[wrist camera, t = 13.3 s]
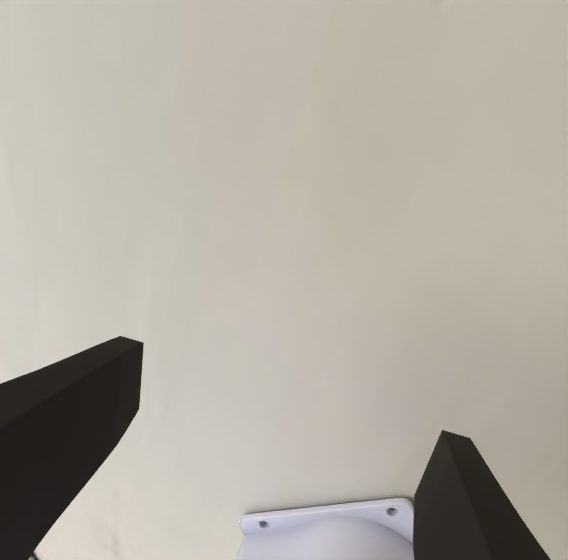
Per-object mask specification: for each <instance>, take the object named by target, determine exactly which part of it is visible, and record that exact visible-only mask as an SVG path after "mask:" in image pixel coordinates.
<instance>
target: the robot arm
mask: <svg viewBox="0 0 568 560" xmlns="http://www.w3.org/2000/svg"><path fill="white" fill-rule="evenodd" d="M143 344H144V343H143V342H139V341H136V340H132V339H129V338H125V337H122V336H119V337H117V338H114V339H111V340H109V341H106V342H104V343H101V344H99V345H96V346H94V347H92V348H89V349H87V350H85V351H82V352H80V353H78V354H75V355H73V356H70V357H68V358H66V359H63V360H61V361H58V362H56V363H54V364H51V365H49V366H46V367H44V368H41V369H39V370H36V371H34V372H31V373H28V374H26V375H23V376H20V377H17V378H15V379H12V380H9V381H7V382H4V383H1V384H0V560H28V559H29V558H30V556H31V555H32V553H33V552H34V550H35V549H36V547H37V546H38V544H39V543H40V542H41V540H42V539H43V538H44V536H45V535H46V533H47V532H48V531H49V529H50V528H51V527H52V525H53V524H54V523H55V522H56V520H57V519H58V518H59V517H60V515H61V514H62V513H63V512H64V511H65V509H66V508H67V507H68V506H69V504H70V503H71V502H72V501H73V499H74V498H75V497H76V496H77V494H78V493H79V492H80V491H81V489H82V488H83V487H84V486H85V485H86V483H87V482H88V481H89V480H90V478H91V477H92V476H93V475H94V473H95V472H96V471H97V470H98V468H99V467H100V466H101V465H102V463H103V462H104V461H105V460H106V458H107V457H108V456H109V455H110V453H111V452H112V451H113V449H114V448H115V447H116V446H117V444H118V443H119V441H120V440H121V438H122V436H123V435H124V433H125V432H126V430H127V428H128V427H129V425H130V423H131V422H132V420H133V418H134V417H135V415H136V413H137V412H138V410H139V403H140V388H141V373H142V358H143ZM389 508H394V510H393V509H389ZM264 521H265V522H264ZM239 525H240V528H241V530H242V531H243V533H244V537H243V540H242V543H241V546H240V549H239V552H238V554H237V557H236V560H551V559H550V558H549V557H548V555H547V554H546V553H545V551H544V550H543V549H542V547H541V546H540V545H539V543H538V542H537V540H536V539H535V537H534V536H533V535H532V533H531V532H530V530H529V529H528V527H527V526H526V524H525V523H524V522H523V520H522V519H521V517H520V516H519V514H518V513H517V511H516V510H515V508H514V507H513V505H512V504H511V502H510V500H509V499H508V497H507V496H506V494H505V493H504V491H503V490H502V488H501V486H500V485H499V483H498V482H497V480H496V479H495V477H494V475H493V474H492V472H491V471H490V469H489V467H488V466H487V464H486V463H485V461H484V459H483V458H482V456H481V455H480V453H479V451H478V450H477V448H476V447H475V445H474V444H473V442H472V440H471V439H470V438H468V437H464V436H461V435H457V434H454V433H451V432H447V431H444V430H442V432H441V434H440V436H439V439H438V441H437V444H436V446H435V448H434V451H433V453H432V455H431V458H430V460H429V462H428V465H427V467H426V470H425V472H424V474H423V477H422V479H421V481H420V484H419V486H418V488H417V491H416V493H415V498H414V507H413V505H412V503H411V501H409V500H408V499H406V498H391V499H382V500H373V501H364V502H354V503H345V504H336V505H327V506H317V507H308V508H299V509H290V510H280V511H271V512H262V513H253V514H245V515H243V516H242V517H241V519H240V522H239Z"/></svg>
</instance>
